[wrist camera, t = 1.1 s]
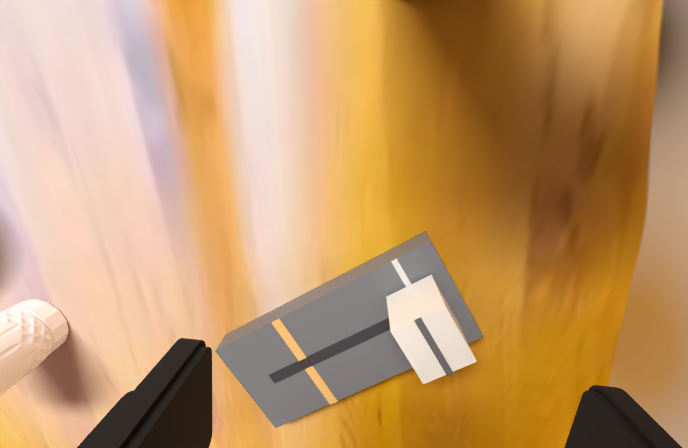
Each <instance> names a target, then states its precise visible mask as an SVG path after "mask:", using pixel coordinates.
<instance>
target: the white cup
mask: <svg viewBox="0 0 688 448" xmlns="http://www.w3.org/2000/svg"><path fill="white" fill-rule="evenodd" d="M68 333H69V329H68V324H67V320H66V319H65V317H64V316H63V314H62V313H61V312H60V310H58V309H57V308H56V307H54V306H53V305H51V304H50V303H48V302H45V301H41V300H37V299H33V300H27V301H22V302H20V303H18V304H16V305H14V306H12V307H10V308H8V309H6V310H4V311H1V312H0V397H1V396H2V395H3V394H4V393H6V392H7V391H8V390H9V389H10V388H12V387H13V386H14V385H15V384H16V383H18V382H19V381H20V380H21V379H23V378H24V377H25V376H26V375H27V374H29V373H30V372H31V371H32V370H34V369H35V368H36V367H37V366H38V365H39V364H40V363H41V362H43V361H44V360H45V359H46V357H47V356H48V355H50V354H51V353H52V352H53V351H54V350H55V349H56V348H58V347H59V346H60V345H61V344H63V343H64V342H65V341H66V339H67V336H68Z"/></svg>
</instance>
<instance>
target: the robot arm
mask: <svg viewBox="0 0 688 448" xmlns="http://www.w3.org/2000/svg"><path fill="white" fill-rule="evenodd" d="M211 437H212V350H211V348H210V347H206V344H205V342H204V341H203V340H194V339H185V338H181V339H179V340H178V341H177V342H176V343H175V344H174V345H173V346H172V347H171V349H170V350H169V351H168V352H167V353H166V354H165V355H164V357H163V358H162V359H161V360H160V361H159V362H158V363H157V365H156V366H155V367H154V368H153V369H152V370H151V372H150V373H149V374H148V375H147V376H146V377H145V378H144V380H143V381H142V382H141V383H140V384H139V385H138V386H137V388H136V389H135V390H134V391H130V392H128V393H126V394H125V395H124V396H123V397H122V398H121V399H120V400H119V401H118V402H117V404H116V405H115V406H114V407H113V408H112V409H111V410H110V411H109V412H108V414H107V415H106V416H105V417H104V418H103V419H102V420H101V421H100V423H99V424H98V425H97V426H96V427H95V428H94V429H93V430H92V432H91V433H90V434H89V435H88V436H87V437H86V438H85V439H84V440H83V442H82V443H81V444H80V445H79V446H78V447H77V448H208V447H209V445H210V442H211ZM565 448H682V447H681V446H680V445H679V444H678V443H677V442H676V441H675V440H674V439H673V438H672V437H670V435H669V434H668V433H667V432H666V431H665V430H664V429H663V428H662V427H661V426H660V425H659V424H658V423H657V422H656V421H655V420H654V419H653V418H652V417H650V415H649V414H648V413H647V412H646V411H645V410H643V408H642V407H640V405H638V404H637V403H636V402H635V401H634V400H633V399H632V398H631V397H630V396H629V395H628V394H627V393H626V392H625V391H624V390H622V389H620V388H616V387H607V386H598V385H594V386H592V387H590V388H589V390H588V391H585V392H584V393H583V395H582V398H581V401H580V403H579V406H578V409H577V412H576V415H575V418H574V421H573V424H572V427H571V430H570V433H569V436H568V439H567V442H566V445H565Z"/></svg>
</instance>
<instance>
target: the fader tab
mask: <svg viewBox="0 0 688 448" xmlns="http://www.w3.org/2000/svg"><path fill="white" fill-rule="evenodd" d="M386 300H387V308H388V315H389V323H390V331H391V333H392V335H393V336H394V338H395V340H396V341H397V343H398V344H399V346H400V348H401V349H402V351H403V352H404V354H405V356H406V357H407V359H408V360H409V362H410V364H411V365H412V367H413V369H414V370H415V372H416V373H417V375H418V377H419V378H420V380H421V381H422V383H423V384H426V383H428V382H430V381H433V380H435V379H437V378H440V377H442V376H444V375H447V376H448V375H450V374H452V373H453V372H454V371H456V370H458V369H461V368H463V367H465V366H468V365H470V364H473V363H475V362H477V361H476V359H475V356H474V354H473V352H472V350H471V348H470V346H469V344H468V342H467V339H466V337H465V335H464V333H463V331H462V329H461V327H460V325H459V322H458V321H457V319H456V317H455V315H454V313H453V312H452V310H451V308H450V306H449V305H448V303H447V301H446V299H445V297H444V296H443V294H442V292H441V290H440V289H439V287H438V285H437V283H436V281H435V280H434V278H433V276H432V275H429V276H427V277H425V278H423V279H421V280H419V281H417V282H415V283H413V284H411V285H409V286H407V287H405V288H403V289H401V290H399V291H397V292H395V293H393V294H391V295H389V296H387V297H386Z"/></svg>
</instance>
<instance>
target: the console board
mask: <svg viewBox="0 0 688 448" xmlns="http://www.w3.org/2000/svg"><path fill="white" fill-rule="evenodd" d="M429 275H432V276H433V278H434V280H435V281H436V283H437V285H438V287H439V289H440V290H441V292H442V294H443V296H444V297H445V299H446V301H447V303H448V305H449V306H450V308H451V310H452V312H453V313H454V315H455V317H456V319H457V321H458V322H459V325H460V327H461V329H462V331H463V333H464V335H465V337H466V339H467V342H468V343H471V342H473V341H475V340H478V339H480V338H482V337H483V335H482V333H481V331H480V329H479V327H478V326H477V324H476V322H475V320H474V318H473V316H472V315H471V313H470V311H469V309H468V307H467V306H466V304H465V302H464V300H463V298H462V296H461V295H460V293H459V291H458V289H457V287H456V285H455V284H454V282H453V280H452V278H451V276H450V274H449V273H448V271H447V269H446V267H445V265H444V264H443V262H442V260H441V258H440V256H439V254H438V253H437V251H436V249H435V247H434V245H433V243H432V242H431V240H430V238H429V236H428V234H427V233H426V231H425V232H423V233H421V234H419V235H417V236H416V237H414V238H412V239H410V240H408V241H406V242H404V243H402V244H400V245H398V246H396V247H394V248H392V249H390V250H388V251H387V252H385V253H383V254H381V255H379V256H377V257H375V258H373V259H371V260H369V261H367V262H365V263H363V264H361V265H360V266H358V267H356V268H354V269H352V270H350V271H348V272H346V273H344V274H342V275H340V276H338V277H336V278H334V279H332V280H331V281H329V282H327V283H325V284H323V285H321V286H319V287H317V288H315V289H313V290H311V291H309V292H307V293H305V294H303V295H302V296H300V297H298V298H296V299H294V300H292V301H290V302H288V303H286V304H284V305H282V306H280V307H278V308H276V309H275V310H273V311H271V312H269V313H267V314H265V315H263V316H261V317H259V318H257V319H255V320H253V321H251V322H249V323H247V324H246V325H244V326H242V327H240V328H238V329H236V330H234V331H232V332H230V333H228V334H226V335H225V337H224V338H223V340H222V341H221V343H220V344H219V346H218V348H217V349H216V352H217V354H218V355H219V356H220V358H221V359H222V360H223V361H224V363H225V364H226V365H227V367H228V368H229V369H230V370H231V372H232V373H233V374H234V375H235V377H236V378H237V379H238V381H239V382H240V383H241V384H242V386H243V387H244V388H245V390H246V391H247V392H248V393H249V395H250V396H251V397H252V398H253V400H254V401H255V402H256V404H257V405H258V406H259V407H260V409H261V410H262V411H263V413H264V414H265V415H266V416H267V418H268V419H269V420H270V422H271V423H272V424H273V425H274V427H275V428H277V427H279V426H281V425H284V424H286V423H288V422H291V421H293V420H295V419H297V418H300V417H302V416H304V415H307V414H309V413H311V412H313V411H316V410H318V409H320V408H323V407H325V406H327V405H329V404H330V405H331V404H333V403H336V402H338V400H341V399H343V398H345V397H348V396H350V395H352V394H354V393H357V392H359V391H361V390H364V389H366V388H368V387H370V386H373V385H375V384H377V383H380V382H382V381H384V380H386V379H389V378H391V377H393V376H395V375H398V374H400V373H402V372H405V371H407V370H409V369H411V368H413V367H412V365H411V364H410V362H409V360H408V359H407V357H406V356H405V354H404V352H403V351H402V349H401V348H400V346H399V344H398V343H397V341H396V340H395V338H394V336H393V335H392V333H391V331H390V323H389V315H388V308H387V300H386V297H387V296H389V295H391V294H393V293H395V292H397V291H399V290H401V289H403V288H405V287H407V286H409V285H411V284H413V283H415V282H417V281H419V280H421V279H423V278H425V277H427V276H429Z"/></svg>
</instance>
